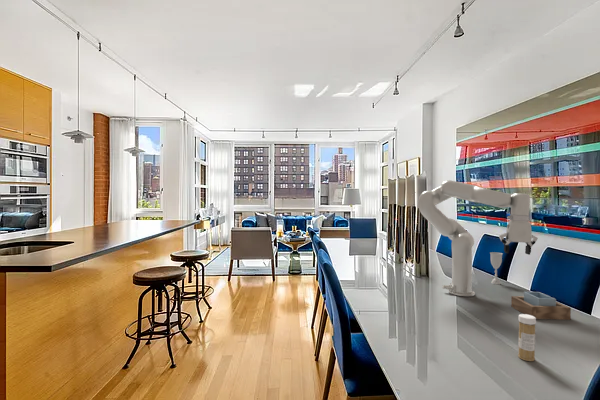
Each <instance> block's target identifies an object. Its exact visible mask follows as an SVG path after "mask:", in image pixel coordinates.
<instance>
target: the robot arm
mask: <svg viewBox="0 0 600 400" xmlns="http://www.w3.org/2000/svg"><path fill="white" fill-rule="evenodd" d="M450 198H455V199H459V200H464V201H468V202H472V203H479V204H483V205H488V206H492V207H496V208H510V214H509V215H507V219H509V220H508V223H507V226H506V231H505V232H504V233H501V234H499V236H498V238H499V239H500V242H502V244H503V251H504V253H506V254H510V245H509V244H510V243H525V244H526V245H525V249H524V250H525V254H526V255H531V253H532V247H533V246H534V245H535V244H536V242H537V241H538V238H539V237H537V236H536V235H534V234H533V233H532V226H531V225H532V223H531V222H530V221H529V220H530V219H529V216H530V203H531V197H530V194H528V193H508V192H504V191H499V190H493V189H488V188H485V187H480V186H478V185H473V184H470V183H464V182H459V181H456V180H450V179H449V180H444V181H443V182H441V184H440V186H438V187H436V188H434V189H432V190H424V191H422V193H420V195H419V197H418V201H417V207H418V211H419V212H420V214H421V215H422V216H423V218H424V219H426V220H427V221H428V222H429V223H430V225H432V226H433V227H434V229H435V230H437V232H438V233H439V234H440V235H442V236H443V237H448V239H449V240H450V241H451V283H449V284H448V285H446V284H444V285H443V284H442V286H441V287H442V289H443V290H448V293H449V294H451V295H454V296H458V297H459V296H460V297H474V296H475V295H476V293H475V291H474V290H473V289H472V281H473V277H472V276H473V275H472V274H473V254H472V253H473V250H472V249H473V246H474V244H475V239H474V237H473V235H472V234H471V233H469V232H468V230H466V228H465V227H464V226H462V225H461V224H460V223H459V222H458V221H457V220H455V219H453V218H449V217H448V216H447V215H446V214H444V213H443V212H442V211H441V210H440V209H439V208H437V205H439V204H441V203H443V202H444V201H446V200H449V199H450Z"/></svg>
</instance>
